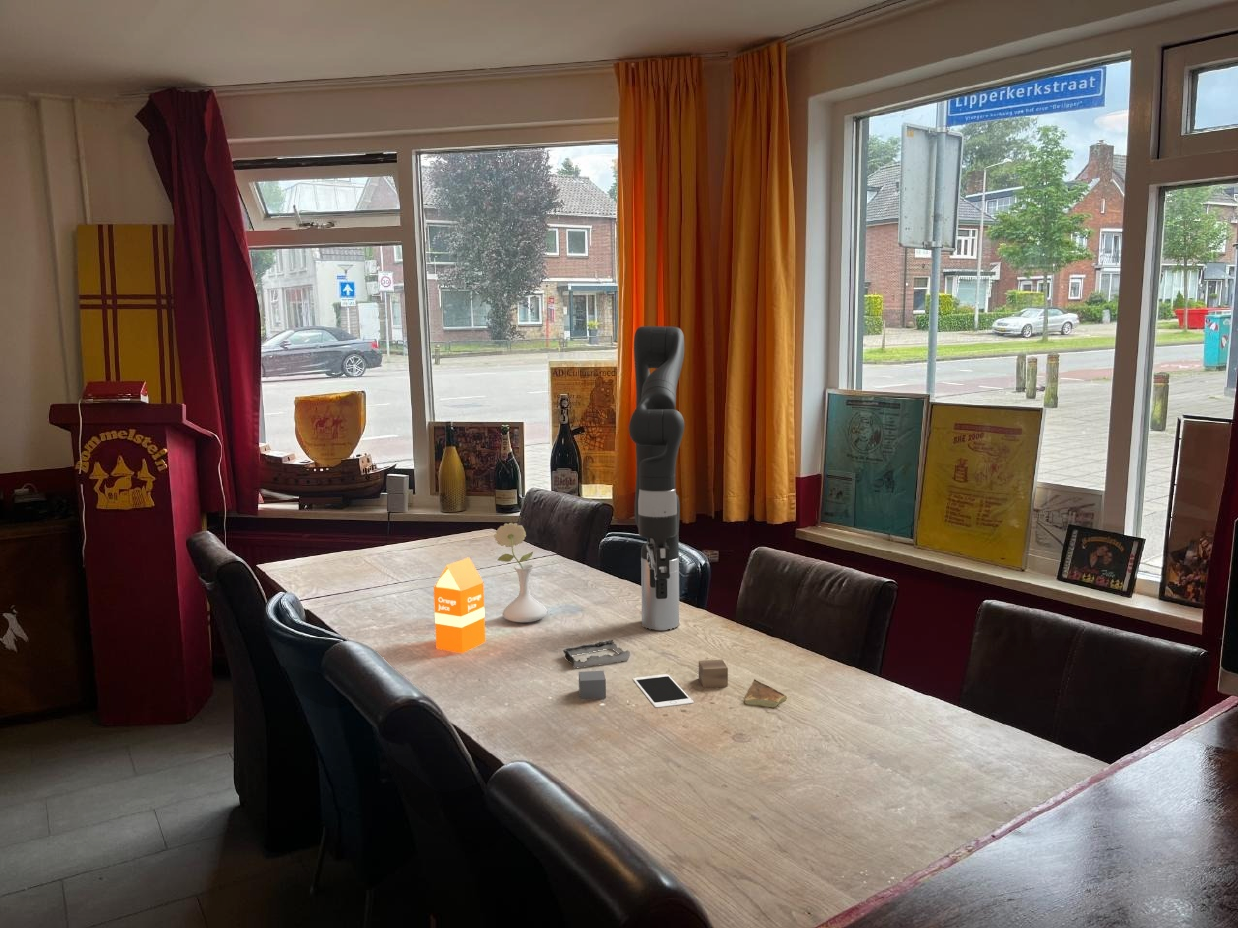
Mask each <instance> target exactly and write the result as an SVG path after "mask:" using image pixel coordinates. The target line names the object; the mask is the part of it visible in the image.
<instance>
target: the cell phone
mask: <svg viewBox="0 0 1238 928" xmlns="http://www.w3.org/2000/svg"><path fill="white" fill-rule="evenodd" d="M632 681H633V682H634V683H635V684H636V686H637V687H638V688H639V689H640V691H641V692H642V693H643V694H644V695H645V697H646V699H648V700H649V702H650V703H651V704H652V706H653V707H654V708H655V709H660V708H669V707H676V706H678V707H679V706H684V705H685V706H686V705H691V704H694V703H695V702H694V700H693V699H692V698H691V697H690V696H689V695H688V693H686V692H685V691H684V690H683V688H682V687H680V685H679V684H678V683H677V682H676V681H675V679H673V678H672V677H671V675H669V674H668V673H664V674H654V675H647V676H639V677H633V678H632Z"/></svg>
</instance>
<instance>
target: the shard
mask: <svg viewBox="0 0 1238 928" xmlns="http://www.w3.org/2000/svg"><path fill="white" fill-rule="evenodd" d="M787 698H788V697H787V695H785V694H784V693H782V692H781V691H778V690H777V689H775V688H773V687H771V686H768V685H767V684H764V683H763V682H761V681H758V680H756V679H755V678H754V679H753V681H752V683H751V686H750V687H748V690H747V692H746V694H745V698H744V702H745V705H752V706H762V707H768V708H775V707H777V706H778V705H779V704H780V703H783V702H786V701H787Z"/></svg>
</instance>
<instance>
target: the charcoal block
mask: <svg viewBox="0 0 1238 928" xmlns="http://www.w3.org/2000/svg"><path fill="white" fill-rule="evenodd" d="M606 684H607V682H606V675H605V672H604V670H589V671H588V670H587V671H578V692H579V693H578V694H579V698H580V701H582V700H583V701H587V700H605V699H607V685H606Z"/></svg>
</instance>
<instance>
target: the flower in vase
mask: <svg viewBox="0 0 1238 928" xmlns="http://www.w3.org/2000/svg"><path fill="white" fill-rule="evenodd" d="M493 537H494V539H495V541H496V544H498V545H499V546H502V547H504V546H505V548H511V554H510V553H504V554H503V553H502V554H501V555H500V556H499V557H498V558H497V561H499V562H500V561H501V562H504V563H505V562H507V563H509V562H511V561H512V560H513V559H515V561H516V562H517V563H518V564H517V565H514V566H513V569H514V570H515V571H516V573H517V576H518V581H519V592H518V595H517V597H516V598H515V599H514V600H512V601H511V602H510V603H509V604H508V605H507V606H506V607H505V608H504V609H503V611H502V614H501V615H502V616H503V618H504V619H505V620H507V621H509V622H513V623H533V622H536V621H540V620H541V619H544V618H545V617H546V616H547V614H548V610H547V608H546V607H545V606H544V604H543V603H541V602H539V601H538V600H537V599H535V598H534V597H533V596H532V595H531V592H530V588H529V587H530V586H529V584H530V574H531V572H532V569H534V565H533V564H529V563H528V564H527V563H525V564H524V563H521V562H525V561H528V560H529V559H531V557H532V555H533V554H534V551H532V552H531V551H530V552H529V553H526V554H524V555H522V556H521V558H520V559H518V558H517V556H516V555H515V552H514V546H515V547H517V546H518V545H520V544H522V543H524V540H525V539H526V537H527V532H526V530H525V528H524V526H523V525H521V524H520V525H518V523H517V522H515V523H513V522H509V523H504V524H503V525H500V526H499V527H498V528H497V530H496V531H495V534H494V536H493Z"/></svg>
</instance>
